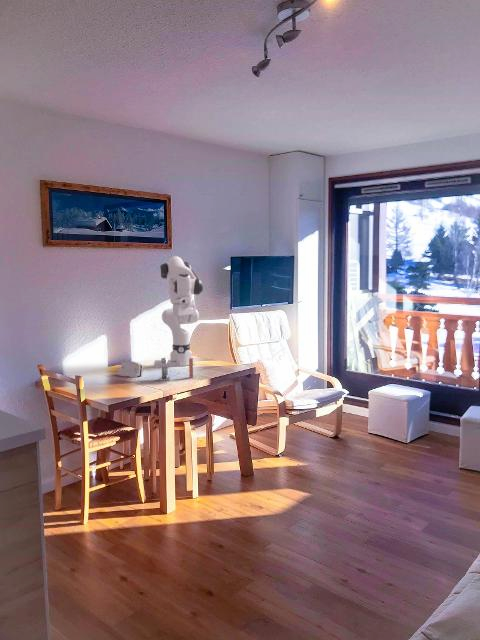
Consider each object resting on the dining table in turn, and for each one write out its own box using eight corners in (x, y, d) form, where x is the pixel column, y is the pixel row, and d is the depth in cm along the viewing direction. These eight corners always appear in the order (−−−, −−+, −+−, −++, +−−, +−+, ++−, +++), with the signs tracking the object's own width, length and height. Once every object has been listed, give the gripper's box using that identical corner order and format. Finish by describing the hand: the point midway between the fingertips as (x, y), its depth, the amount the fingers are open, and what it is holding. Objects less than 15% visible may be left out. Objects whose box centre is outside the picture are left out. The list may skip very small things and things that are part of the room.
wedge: (189, 377, 341) (189, 358, 339) (193, 377, 341) (192, 357, 340) (189, 377, 339) (189, 358, 337) (193, 377, 339) (192, 358, 337)
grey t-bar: (155, 378, 338) (154, 357, 337) (179, 377, 340) (179, 356, 339) (154, 381, 329) (153, 360, 327) (179, 380, 330) (179, 359, 329)
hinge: (116, 375, 348) (119, 359, 350) (121, 376, 352) (124, 360, 354) (136, 377, 340) (140, 361, 342) (141, 378, 344) (144, 363, 346)
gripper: (189, 299, 351) (190, 321, 352) (170, 300, 333) (171, 323, 334) (198, 299, 348) (198, 321, 349) (179, 301, 330) (179, 324, 331)
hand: (185, 322), depth 341 cm, fingers open, 8 cm apart
